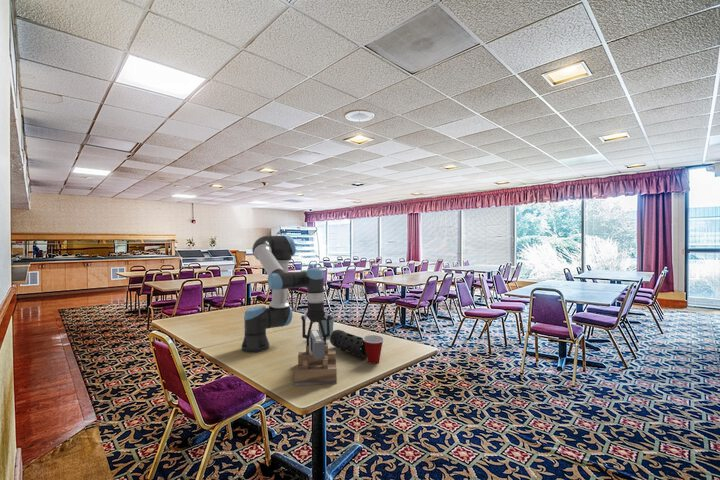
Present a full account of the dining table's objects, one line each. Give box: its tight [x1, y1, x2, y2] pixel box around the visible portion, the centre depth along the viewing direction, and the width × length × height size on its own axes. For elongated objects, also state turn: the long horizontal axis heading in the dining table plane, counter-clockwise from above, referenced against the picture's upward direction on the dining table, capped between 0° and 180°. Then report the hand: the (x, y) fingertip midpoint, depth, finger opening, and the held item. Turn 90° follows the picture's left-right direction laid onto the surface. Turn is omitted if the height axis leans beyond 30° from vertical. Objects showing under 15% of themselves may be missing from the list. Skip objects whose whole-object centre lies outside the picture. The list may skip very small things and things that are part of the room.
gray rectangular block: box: [309, 329, 325, 360], centre depth 160 cm, size 4×22×7 cm, turn 14°
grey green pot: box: [317, 316, 335, 340], centre depth 219 cm, size 10×10×12 cm
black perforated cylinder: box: [328, 329, 367, 360], centre depth 189 cm, size 10×28×10 cm, turn 39°
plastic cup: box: [362, 334, 385, 364], centre depth 174 cm, size 11×11×12 cm
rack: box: [293, 342, 338, 386], centre depth 160 cm, size 26×18×10 cm
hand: (316, 352), depth 160 cm, fingers closed on gray rectangular block, 5 cm apart
